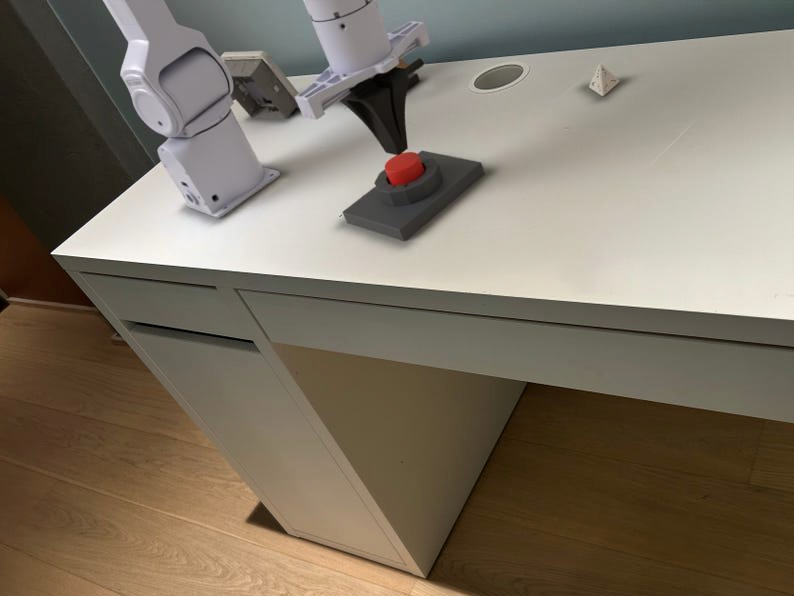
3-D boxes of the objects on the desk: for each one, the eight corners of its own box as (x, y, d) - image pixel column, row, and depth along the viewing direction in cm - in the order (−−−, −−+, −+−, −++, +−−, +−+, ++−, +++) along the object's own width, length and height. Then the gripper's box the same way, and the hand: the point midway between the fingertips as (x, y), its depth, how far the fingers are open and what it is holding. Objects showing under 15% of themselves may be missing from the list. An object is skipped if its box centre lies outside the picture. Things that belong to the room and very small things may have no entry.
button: (407, 189, 70) (400, 174, 69) (383, 183, 73) (377, 168, 71) (431, 170, 72) (426, 154, 71) (407, 164, 74) (402, 149, 73)
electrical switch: (309, 106, 101) (274, 43, 94) (286, 128, 98) (248, 66, 92) (266, 104, 106) (230, 45, 99) (243, 126, 104) (205, 66, 97)
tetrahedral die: (601, 88, 82) (590, 63, 81) (620, 81, 80) (609, 56, 79) (584, 102, 81) (572, 78, 80) (603, 96, 79) (591, 71, 77)
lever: (423, 71, 93) (424, 56, 90) (396, 90, 90) (397, 75, 88) (361, 25, 95) (361, 9, 92) (333, 43, 92) (333, 27, 90)
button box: (404, 241, 69) (393, 215, 67) (347, 223, 74) (335, 198, 72) (485, 174, 74) (477, 147, 72) (425, 161, 79) (416, 136, 77)
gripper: (305, 49, 56) (370, 198, 65) (431, -30, 62) (474, 117, 71) (257, 45, 60) (323, 185, 69) (379, -29, 66) (425, 109, 75)
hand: (396, 150), depth 70 cm, fingers closed
